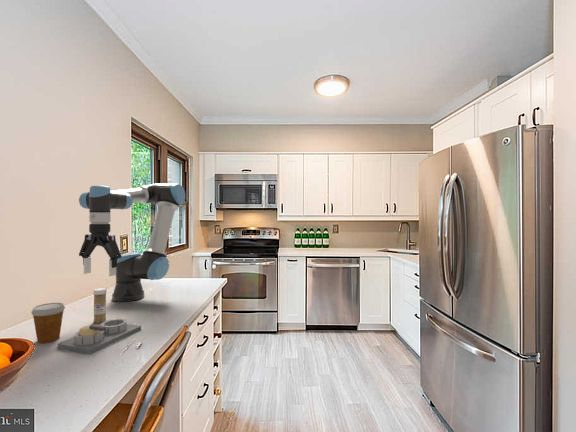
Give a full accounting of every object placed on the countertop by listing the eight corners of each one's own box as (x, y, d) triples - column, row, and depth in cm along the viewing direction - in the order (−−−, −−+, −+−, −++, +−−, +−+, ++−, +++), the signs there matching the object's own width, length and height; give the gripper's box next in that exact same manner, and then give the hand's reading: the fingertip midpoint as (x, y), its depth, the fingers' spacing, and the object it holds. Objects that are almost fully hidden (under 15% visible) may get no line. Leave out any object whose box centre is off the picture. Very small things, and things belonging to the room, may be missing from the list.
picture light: (134, 339, 113) (134, 333, 113) (146, 339, 114) (147, 333, 114) (118, 357, 99) (118, 351, 99) (132, 357, 100) (132, 350, 100)
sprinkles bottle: (92, 323, 127) (92, 290, 127) (94, 320, 132) (94, 288, 131) (105, 322, 129) (105, 289, 129) (107, 318, 133) (107, 287, 133)
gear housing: (112, 325, 126) (112, 309, 126) (141, 329, 121) (141, 313, 121) (57, 348, 105) (57, 328, 105) (89, 354, 101) (89, 334, 100)
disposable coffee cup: (46, 334, 117) (46, 301, 116) (71, 334, 116) (71, 302, 116) (24, 344, 107) (23, 310, 107) (51, 345, 107) (51, 310, 107)
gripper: (68, 222, 130) (68, 273, 130) (116, 224, 122) (115, 278, 123) (85, 222, 137) (85, 270, 137) (131, 223, 129) (130, 274, 130)
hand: (99, 274), depth 130 cm, fingers open, 13 cm apart
